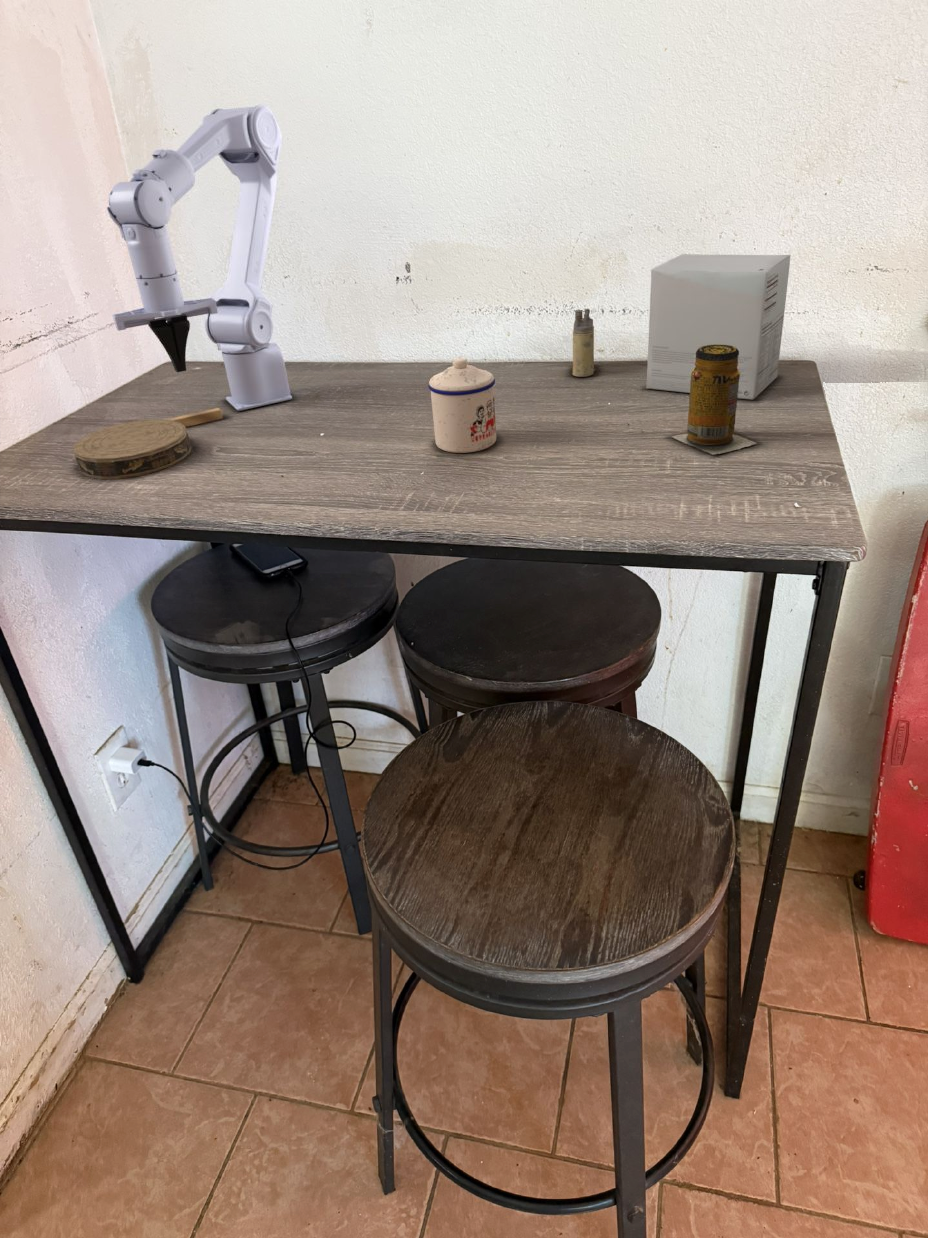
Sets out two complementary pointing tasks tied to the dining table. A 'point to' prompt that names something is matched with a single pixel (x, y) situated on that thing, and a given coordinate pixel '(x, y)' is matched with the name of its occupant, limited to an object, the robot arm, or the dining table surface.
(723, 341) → the supplement box
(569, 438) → the dining table surface
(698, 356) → the condiment
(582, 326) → the lighter
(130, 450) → the tin can
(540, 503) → the dining table surface
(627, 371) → the dining table surface
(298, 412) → the dining table surface
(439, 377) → the teacup with lid
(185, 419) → the rail
